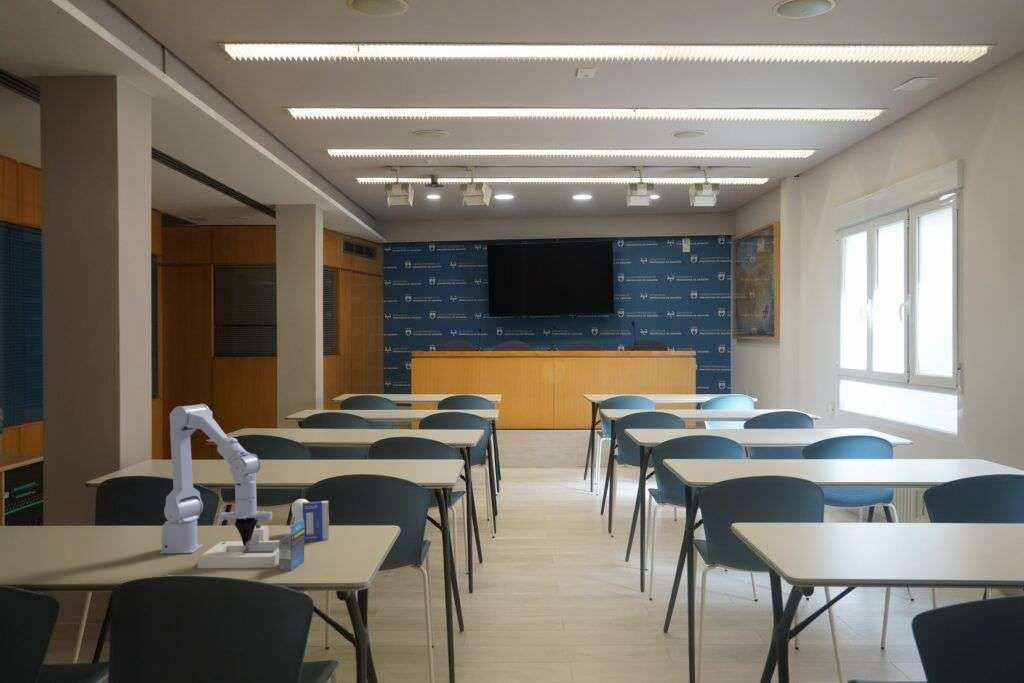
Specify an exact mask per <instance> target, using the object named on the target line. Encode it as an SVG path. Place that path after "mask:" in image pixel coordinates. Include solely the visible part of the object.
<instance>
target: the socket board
mask: <svg viewBox="0 0 1024 683" xmlns="http://www.w3.org/2000/svg"><path fill="white" fill-rule="evenodd" d="M259 542H279V540H268V541H259ZM244 550H245V546H243V541H242V540H236V541H234V540H233V541H231V540H230V541H220V542H219V543H217V544H215V545H214V546H212V547H211V548H209V549H208V550H206V551H205V552H204V553H202V554H200V555H199V556H197V569H241V568H242V569H244V568H245V569H246V568H248V569H250V568H251V569H252V568H254V569H255V568H263V569H264V568H274V567H275V566H276V565H278V564H279V548H278V549H277V550H276V551H274V552H270V553H243V551H244Z"/></svg>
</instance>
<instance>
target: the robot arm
mask: <svg viewBox="0 0 1024 683" xmlns="http://www.w3.org/2000/svg"><path fill="white" fill-rule="evenodd" d="M169 426H170V427H169V428H170V431H169V434H170V435H169V437H170V451H171V452H170V453H171V454H170V455H171V465H172V466H171V467H172V468H171V469H172V470H171V472H172V483H173V485H172V486H173V489H172V490H171V492H169V494H168V495H167V496H166V498H165V505H164V510H163V513H164V516H165V519H166V521H165V522H164V523H163V524H162V528H161V551H160V554H193V553H194V552H196V551H197V550H199V549H200V548H202V547H203V546H204V543H203V544H199V543H198V542H199V540H198V519H200V515H201V514H202V512H203V510H204V503H203V501H202V498H201V492H200V491H199V490H198V489H196V488H195V487H194V479H193V464H192V463H193V461H192V445H191V436H192V434H193V433H194V432H195V431H196V430H201V431H202V432H203V433H205V435H206V436H208V437H209V439H210V440H212V441H213V442H214V443H215V444H216V445H217V448H216V449H217V450H216V451H217V452H218V454H220V456H221V457H222V458H223V459H224V460H225V461H226V462H227V463H228V464H229V466H230V467H229V470H230V473H231V475H232V480H233V483H234V487H235V488H234V491H235V495H234V496H235V499H234V500H235V511H228V512H227V511H226V512H225V511H223V512H221V513H220V514H219V521H221V522H222V521H223V522H224V521H235V522H234V526H235V528H236V529H237V531H238V533H239V535H240V537H241V541H243V546H245V543H247V542H248V541H249V540H251V538H252V534H253V531H254V528H255V526H256V524H258V522H259V520H267V521H271V520H272V519H273V517H274V516H273V511H264V510H257V508H258V507H257V503H258V502H257V473H258V472H259V471H260V469H261V461H260V459H259V457H258V455H257V454H255V453H250V452H249V451H247V450H246V449H245V448H244V447H243V446H242V445H241V444H240V443H239V442H238V439H237V438H234V437H233V436H229V437H228V436H227V434H226V433H225V432H224V431H223V429H222V428H221V426H220V425H219V424H218V423H217V421H216V420H215V419H214V418H213V411H212V410H211V409H210V408H209V407H208V405H207V404H205V403H200V404H192V405H191V404H190V405H183V406H181V405H178V406H176V407H175V408H173V409H172V411H171V412H170V413H169Z"/></svg>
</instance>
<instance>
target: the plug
mask: <svg viewBox="0 0 1024 683" xmlns="http://www.w3.org/2000/svg"><path fill="white" fill-rule="evenodd" d="M255 536H259V541H269V526H268V525H261V523H257V524H256V526H255V528H254V531H253V534H252V538H253V537H255ZM252 538H251V539H252Z"/></svg>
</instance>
